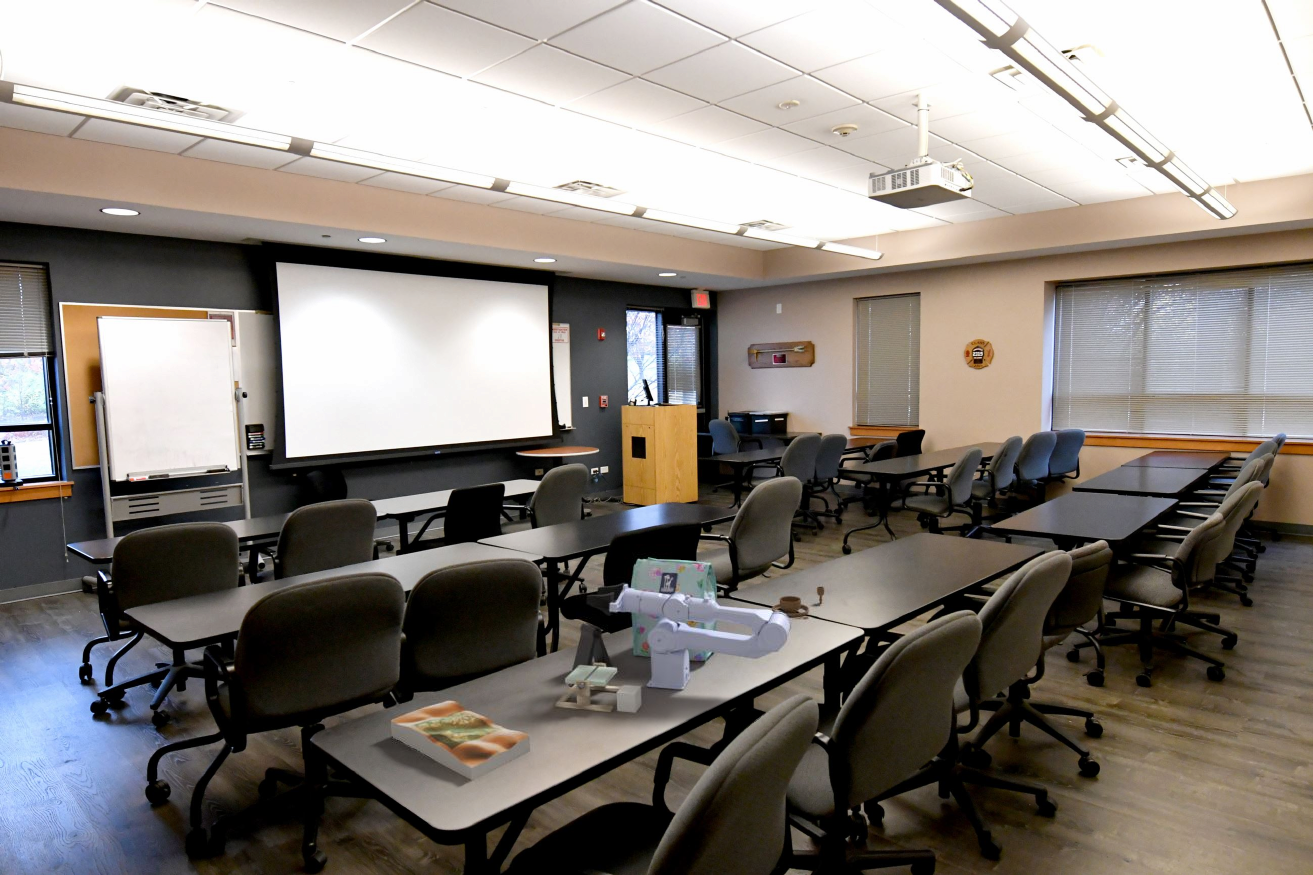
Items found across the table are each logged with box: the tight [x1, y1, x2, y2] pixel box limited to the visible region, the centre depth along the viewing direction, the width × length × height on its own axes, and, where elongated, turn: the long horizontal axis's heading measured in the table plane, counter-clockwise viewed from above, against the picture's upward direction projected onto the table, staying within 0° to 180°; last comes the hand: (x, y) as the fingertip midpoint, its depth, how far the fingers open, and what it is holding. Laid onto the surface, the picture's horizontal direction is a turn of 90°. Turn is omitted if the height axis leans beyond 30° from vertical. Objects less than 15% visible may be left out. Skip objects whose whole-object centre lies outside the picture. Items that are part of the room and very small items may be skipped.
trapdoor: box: [564, 665, 618, 688], centre depth 182 cm, size 10×9×2 cm
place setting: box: [771, 586, 825, 620], centre depth 245 cm, size 18×20×6 cm
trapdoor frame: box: [555, 662, 622, 713], centre depth 182 cm, size 14×14×7 cm
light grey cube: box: [616, 684, 642, 713], centre depth 176 cm, size 4×4×4 cm
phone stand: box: [572, 622, 613, 671], centre depth 201 cm, size 9×6×12 cm, turn 128°
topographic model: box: [390, 700, 531, 781], centre depth 161 cm, size 30×14×5 cm, turn 49°
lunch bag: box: [630, 557, 718, 662], centre depth 210 cm, size 23×16×27 cm
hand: (592, 595), depth 194 cm, fingers open, 7 cm apart
